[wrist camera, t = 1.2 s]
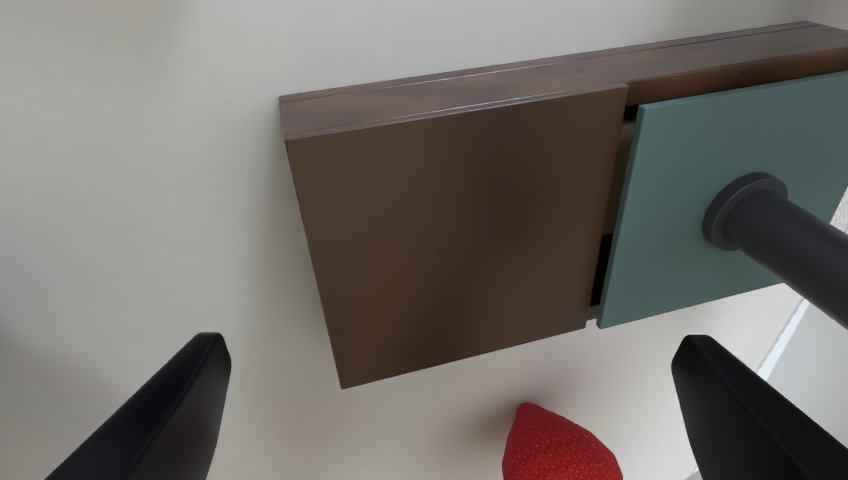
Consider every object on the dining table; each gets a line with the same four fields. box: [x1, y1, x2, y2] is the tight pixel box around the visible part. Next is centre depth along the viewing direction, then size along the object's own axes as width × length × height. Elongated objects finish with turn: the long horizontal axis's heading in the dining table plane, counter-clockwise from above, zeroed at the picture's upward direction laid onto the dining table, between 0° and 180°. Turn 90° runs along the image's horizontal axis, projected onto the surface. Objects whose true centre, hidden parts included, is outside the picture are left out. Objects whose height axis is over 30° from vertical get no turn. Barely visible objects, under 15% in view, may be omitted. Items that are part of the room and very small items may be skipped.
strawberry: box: [502, 403, 623, 480], centre depth 31 cm, size 6×8×10 cm
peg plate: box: [596, 70, 848, 330], centre depth 19 cm, size 12×11×9 cm
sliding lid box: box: [279, 21, 848, 390], centre depth 23 cm, size 24×12×4 cm, turn 94°
